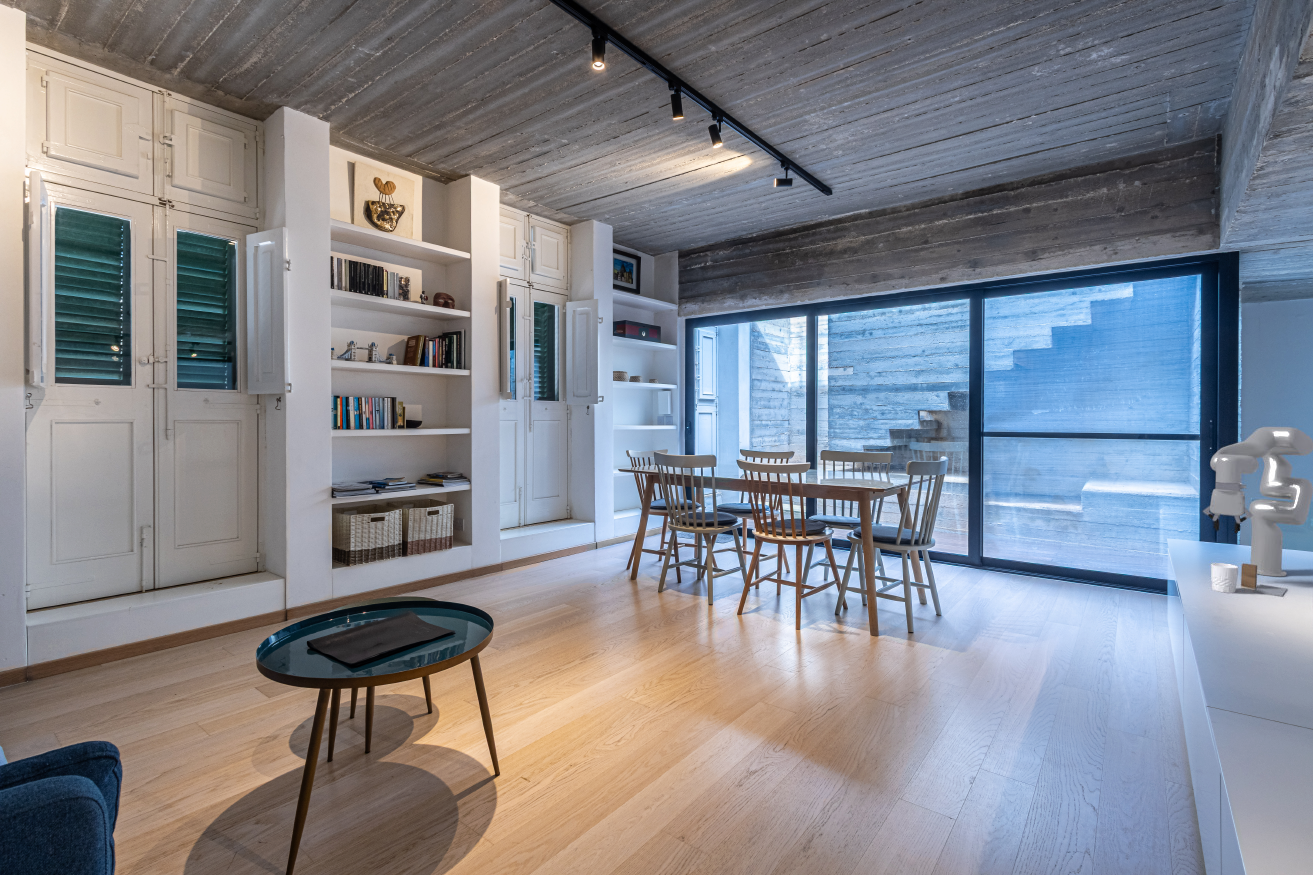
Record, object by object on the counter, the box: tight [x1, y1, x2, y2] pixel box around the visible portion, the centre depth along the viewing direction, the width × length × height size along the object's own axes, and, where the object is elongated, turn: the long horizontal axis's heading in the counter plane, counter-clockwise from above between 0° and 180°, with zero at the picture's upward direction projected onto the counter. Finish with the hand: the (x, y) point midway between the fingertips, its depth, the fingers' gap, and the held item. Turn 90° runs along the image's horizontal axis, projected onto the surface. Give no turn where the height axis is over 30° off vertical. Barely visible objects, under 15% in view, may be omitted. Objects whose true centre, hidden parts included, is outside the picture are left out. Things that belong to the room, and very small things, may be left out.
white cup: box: [1210, 562, 1239, 594], centre depth 241 cm, size 8×8×10 cm
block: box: [1240, 563, 1258, 591], centre depth 245 cm, size 4×4×9 cm
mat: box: [1254, 584, 1288, 597], centre depth 241 cm, size 14×8×1 cm, turn 129°
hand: (1226, 531), depth 250 cm, fingers open, 5 cm apart
